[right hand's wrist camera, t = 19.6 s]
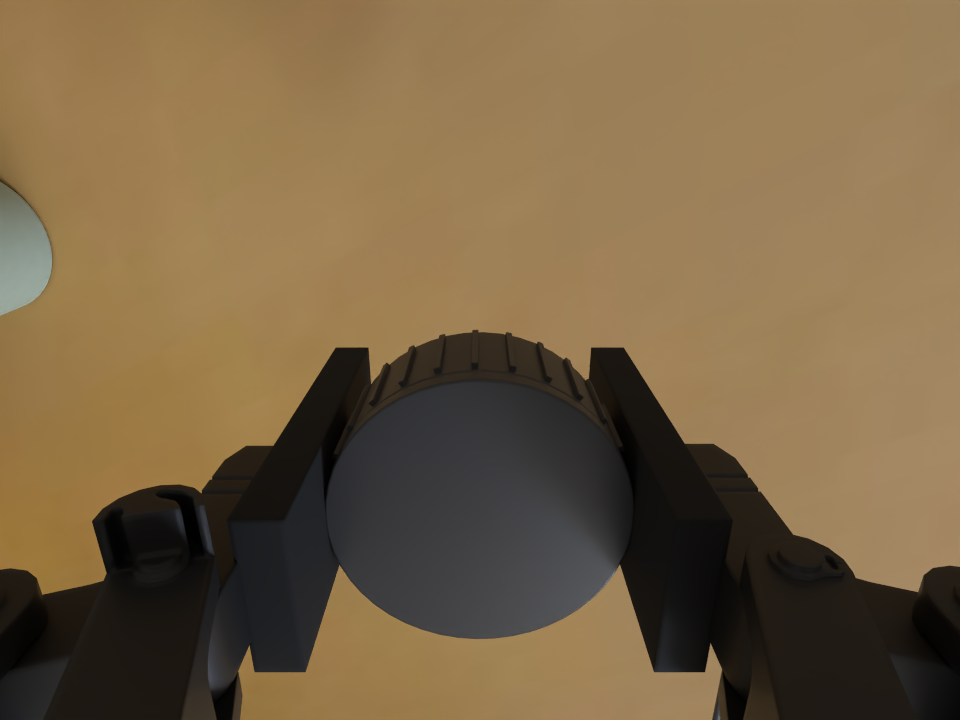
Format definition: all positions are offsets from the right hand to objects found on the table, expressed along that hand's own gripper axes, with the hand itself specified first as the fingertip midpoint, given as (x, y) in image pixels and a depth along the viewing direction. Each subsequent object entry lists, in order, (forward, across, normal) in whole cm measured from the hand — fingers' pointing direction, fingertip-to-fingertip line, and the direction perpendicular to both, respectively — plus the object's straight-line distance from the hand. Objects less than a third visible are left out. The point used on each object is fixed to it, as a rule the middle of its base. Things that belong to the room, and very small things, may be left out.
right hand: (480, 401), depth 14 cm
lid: (-4, 0, 0) cm, 4 cm away
